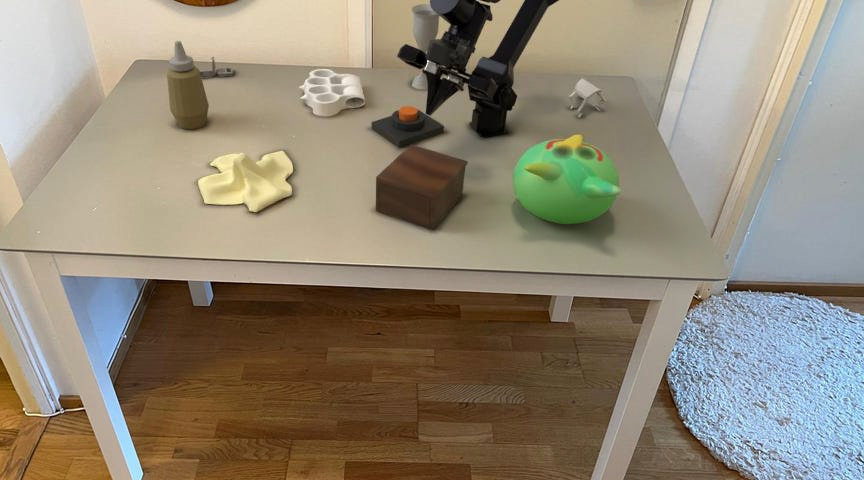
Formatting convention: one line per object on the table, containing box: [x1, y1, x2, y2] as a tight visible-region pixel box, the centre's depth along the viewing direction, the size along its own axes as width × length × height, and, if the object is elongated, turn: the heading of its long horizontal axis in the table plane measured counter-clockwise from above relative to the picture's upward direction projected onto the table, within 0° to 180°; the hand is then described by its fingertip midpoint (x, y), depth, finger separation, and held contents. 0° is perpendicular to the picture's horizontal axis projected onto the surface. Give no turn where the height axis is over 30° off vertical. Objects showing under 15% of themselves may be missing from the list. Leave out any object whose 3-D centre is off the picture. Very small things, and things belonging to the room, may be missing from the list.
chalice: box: [411, 3, 440, 90], centre depth 159 cm, size 7×7×18 cm
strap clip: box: [200, 56, 234, 79], centre depth 165 cm, size 8×3×4 cm, turn 104°
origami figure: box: [568, 77, 608, 118], centre depth 156 cm, size 12×8×5 cm
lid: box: [375, 144, 468, 199], centre depth 122 cm, size 13×12×1 cm
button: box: [398, 105, 419, 121], centre depth 145 cm, size 4×4×2 cm
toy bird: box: [512, 133, 623, 225], centre depth 119 cm, size 18×17×15 cm
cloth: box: [197, 150, 294, 213], centre depth 129 cm, size 22×19×6 cm
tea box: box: [375, 167, 466, 231], centre depth 124 cm, size 13×12×6 cm
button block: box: [371, 107, 445, 149], centre depth 146 cm, size 12×10×4 cm
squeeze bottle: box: [166, 40, 210, 130], centre depth 142 cm, size 8×8×18 cm
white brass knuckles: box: [298, 68, 366, 118], centre depth 157 cm, size 3×18×15 cm
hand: (428, 114), depth 128 cm, fingers closed
